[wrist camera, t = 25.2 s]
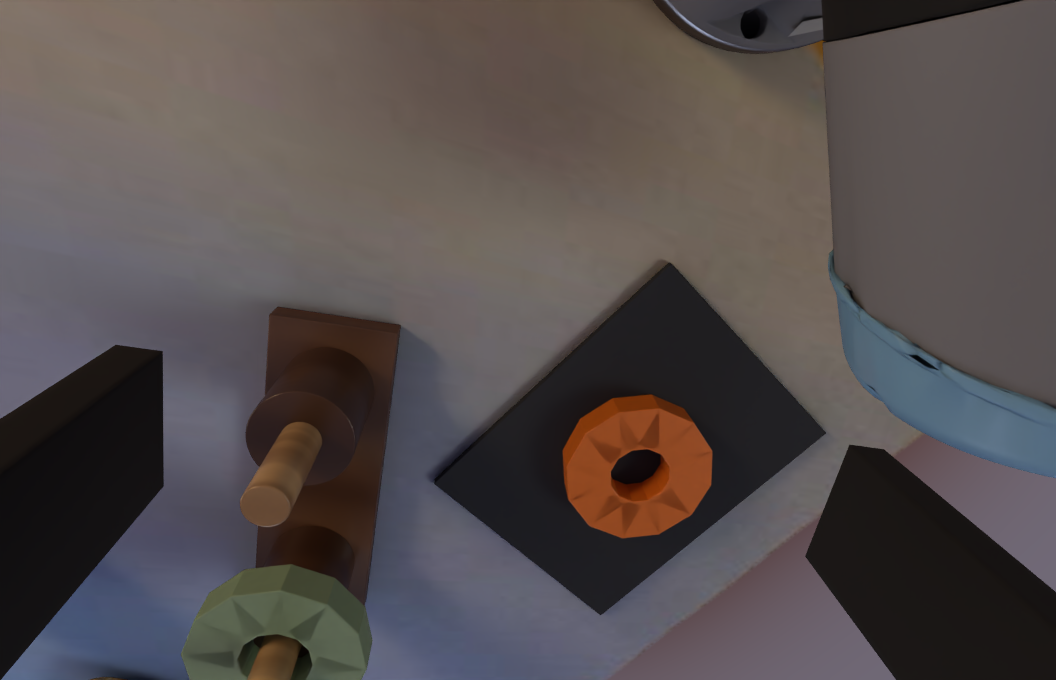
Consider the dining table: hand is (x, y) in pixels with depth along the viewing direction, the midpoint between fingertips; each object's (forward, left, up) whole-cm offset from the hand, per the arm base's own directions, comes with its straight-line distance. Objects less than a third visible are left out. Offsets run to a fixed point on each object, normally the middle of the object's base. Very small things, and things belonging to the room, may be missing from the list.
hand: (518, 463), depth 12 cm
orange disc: (+1, +17, -24) cm, 30 cm away
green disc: (+21, +10, -17) cm, 29 cm away
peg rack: (+17, +6, -25) cm, 31 cm away
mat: (+1, +17, -25) cm, 30 cm away
